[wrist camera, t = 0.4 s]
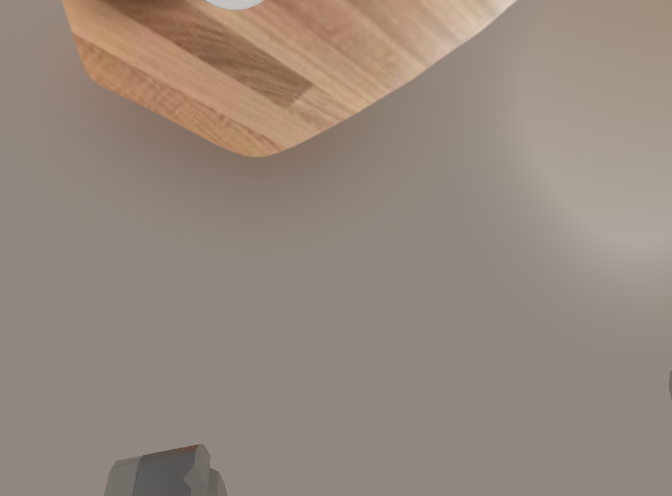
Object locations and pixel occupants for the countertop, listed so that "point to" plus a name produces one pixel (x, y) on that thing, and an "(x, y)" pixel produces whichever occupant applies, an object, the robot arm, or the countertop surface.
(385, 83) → the countertop surface
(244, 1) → the spread jar
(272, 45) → the countertop surface
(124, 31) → the countertop surface
